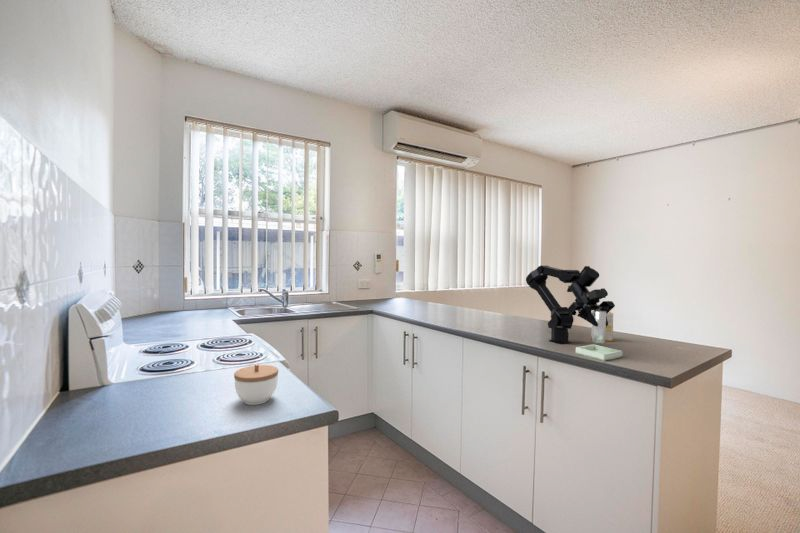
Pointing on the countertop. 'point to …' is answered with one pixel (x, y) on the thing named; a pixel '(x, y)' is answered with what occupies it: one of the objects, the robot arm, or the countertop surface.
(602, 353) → the tray
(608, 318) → the supplement box
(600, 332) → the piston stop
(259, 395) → the lidded jar
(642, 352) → the countertop surface
